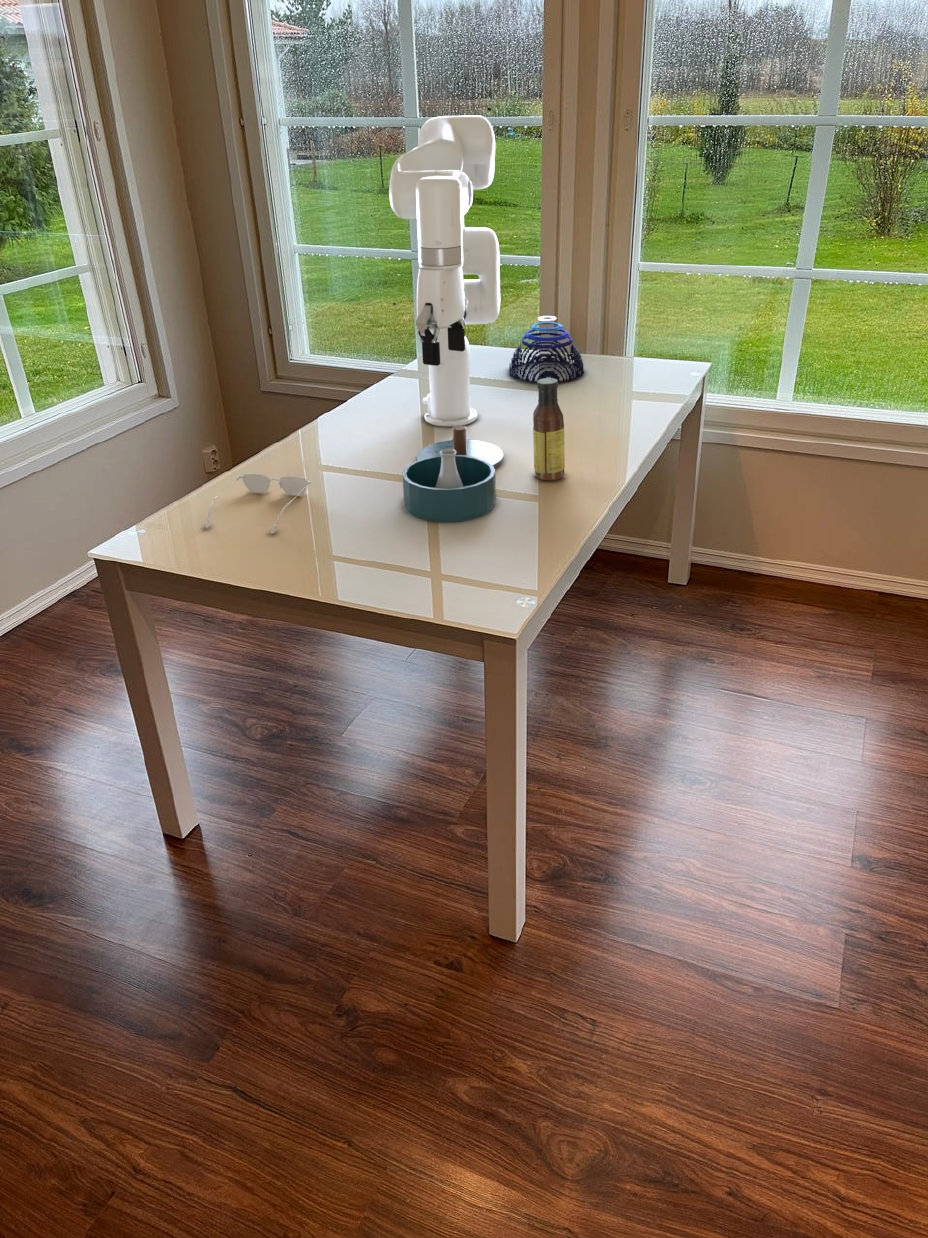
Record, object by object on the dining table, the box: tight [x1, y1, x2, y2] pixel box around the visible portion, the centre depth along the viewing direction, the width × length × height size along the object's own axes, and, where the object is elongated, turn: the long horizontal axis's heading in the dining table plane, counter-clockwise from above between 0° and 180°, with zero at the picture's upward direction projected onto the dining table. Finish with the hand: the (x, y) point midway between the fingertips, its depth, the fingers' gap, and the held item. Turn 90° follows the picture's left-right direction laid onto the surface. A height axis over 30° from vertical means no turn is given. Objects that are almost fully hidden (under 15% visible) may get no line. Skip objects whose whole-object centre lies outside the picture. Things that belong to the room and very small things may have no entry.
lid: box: [416, 425, 505, 468], centre depth 201 cm, size 19×19×7 cm
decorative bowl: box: [508, 315, 585, 384], centre depth 253 cm, size 20×20×14 cm
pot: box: [401, 455, 497, 523], centre depth 182 cm, size 18×18×6 cm
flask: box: [435, 449, 464, 489], centre depth 181 cm, size 7×7×10 cm
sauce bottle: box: [532, 377, 566, 482], centre depth 189 cm, size 7×6×20 cm
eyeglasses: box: [205, 472, 312, 534], centre depth 182 cm, size 15×18×4 cm
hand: (444, 357), depth 169 cm, fingers open, 9 cm apart
